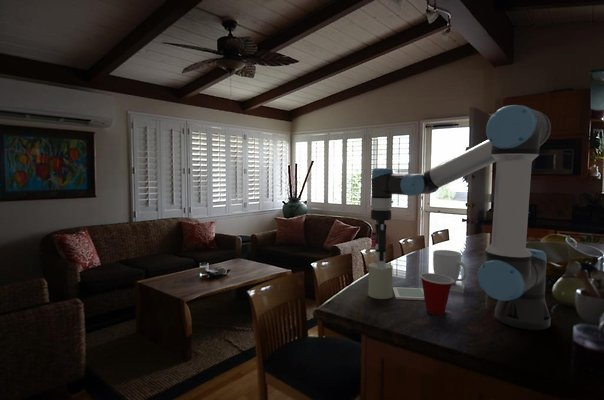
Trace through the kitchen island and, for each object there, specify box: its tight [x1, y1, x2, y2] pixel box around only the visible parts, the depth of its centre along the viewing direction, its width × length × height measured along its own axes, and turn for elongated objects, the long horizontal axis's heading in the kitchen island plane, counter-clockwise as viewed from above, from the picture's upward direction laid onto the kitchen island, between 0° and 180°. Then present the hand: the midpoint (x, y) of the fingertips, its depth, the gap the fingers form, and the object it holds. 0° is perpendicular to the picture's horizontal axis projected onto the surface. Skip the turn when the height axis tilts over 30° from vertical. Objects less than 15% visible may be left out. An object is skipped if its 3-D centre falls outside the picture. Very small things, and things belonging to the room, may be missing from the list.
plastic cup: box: [420, 272, 454, 316], centre depth 124 cm, size 11×11×12 cm
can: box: [367, 262, 394, 300], centre depth 141 cm, size 9×9×12 cm
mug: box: [432, 249, 469, 285], centre depth 155 cm, size 15×11×13 cm
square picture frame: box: [392, 286, 425, 301], centre depth 142 cm, size 12×12×1 cm
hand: (379, 264), depth 141 cm, fingers open, 13 cm apart
